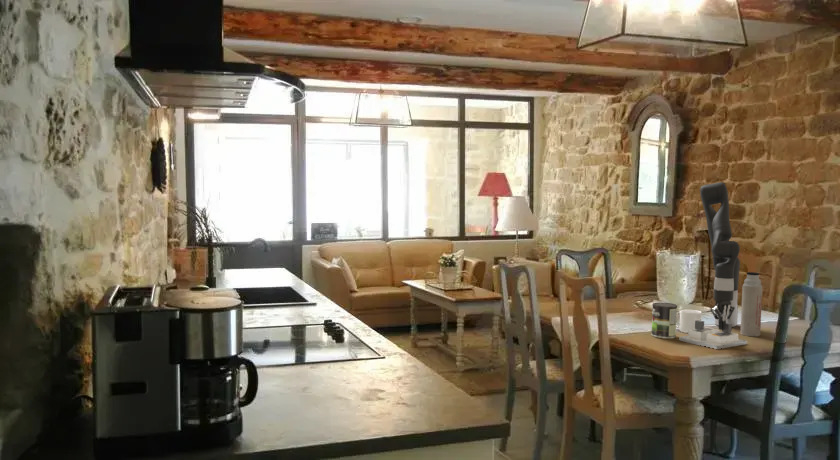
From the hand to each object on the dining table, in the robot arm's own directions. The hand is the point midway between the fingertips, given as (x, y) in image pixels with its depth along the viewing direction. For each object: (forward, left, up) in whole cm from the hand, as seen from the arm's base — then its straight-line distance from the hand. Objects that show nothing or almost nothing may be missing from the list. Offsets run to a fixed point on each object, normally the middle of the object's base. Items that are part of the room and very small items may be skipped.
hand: (721, 329), depth 279 cm
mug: (-9, -24, -7) cm, 27 cm away
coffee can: (+9, -22, -7) cm, 25 cm away
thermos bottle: (-29, -6, -6) cm, 31 cm away
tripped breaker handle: (-3, 0, -1) cm, 3 cm away
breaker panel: (0, -4, -6) cm, 8 cm away
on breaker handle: (+3, -9, -1) cm, 9 cm away
